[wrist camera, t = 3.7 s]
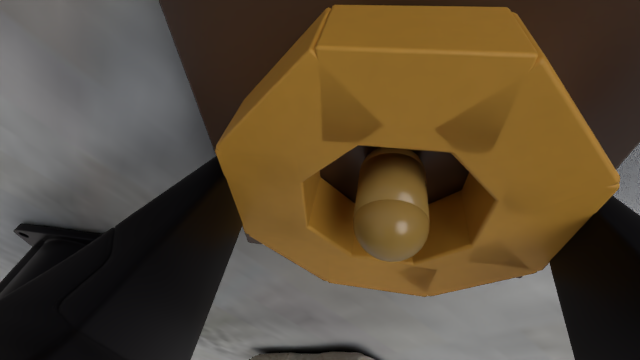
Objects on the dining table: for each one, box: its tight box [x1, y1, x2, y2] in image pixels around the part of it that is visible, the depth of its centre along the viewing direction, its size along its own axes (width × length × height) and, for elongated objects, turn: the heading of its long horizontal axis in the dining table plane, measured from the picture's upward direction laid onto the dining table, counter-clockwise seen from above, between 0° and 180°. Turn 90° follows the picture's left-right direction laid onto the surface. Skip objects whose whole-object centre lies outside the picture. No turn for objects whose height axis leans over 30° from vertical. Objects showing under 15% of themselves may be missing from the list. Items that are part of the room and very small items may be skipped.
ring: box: [215, 5, 620, 297], centre depth 8 cm, size 7×7×2 cm
